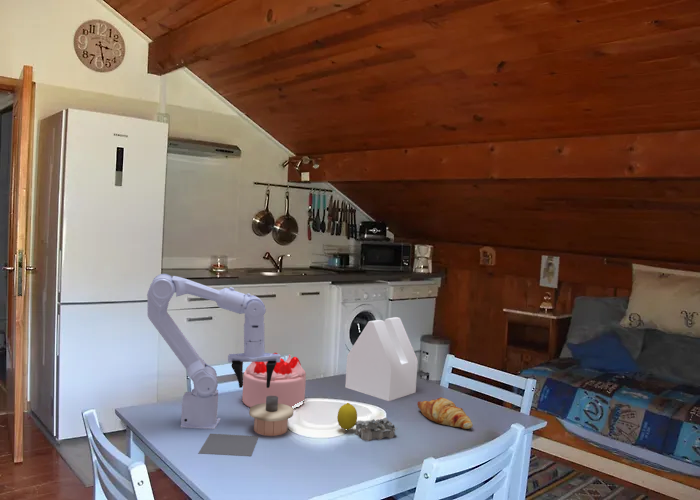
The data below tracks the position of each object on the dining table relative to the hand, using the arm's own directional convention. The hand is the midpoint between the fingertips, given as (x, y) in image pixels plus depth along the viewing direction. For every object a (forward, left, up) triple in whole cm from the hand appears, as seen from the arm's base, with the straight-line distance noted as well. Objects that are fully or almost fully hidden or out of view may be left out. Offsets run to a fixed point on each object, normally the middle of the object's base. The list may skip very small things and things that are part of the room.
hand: (254, 386), depth 170 cm
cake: (+4, +20, -11) cm, 23 cm away
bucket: (+6, -5, -10) cm, 13 cm away
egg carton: (+35, -4, -11) cm, 36 cm away
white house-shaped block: (+39, +39, -11) cm, 56 cm away
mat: (-3, -17, -10) cm, 21 cm away
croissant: (+56, +11, -11) cm, 58 cm away
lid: (+6, -6, -5) cm, 10 cm away
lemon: (+27, -2, -11) cm, 29 cm away
